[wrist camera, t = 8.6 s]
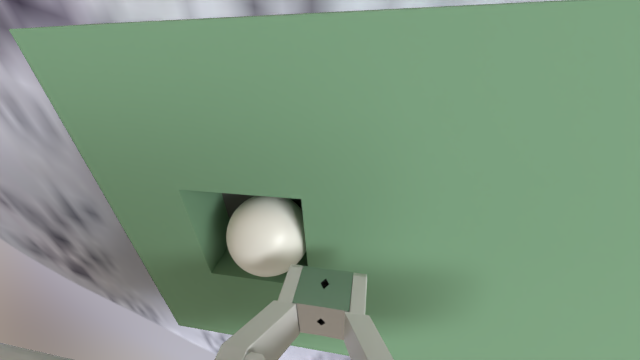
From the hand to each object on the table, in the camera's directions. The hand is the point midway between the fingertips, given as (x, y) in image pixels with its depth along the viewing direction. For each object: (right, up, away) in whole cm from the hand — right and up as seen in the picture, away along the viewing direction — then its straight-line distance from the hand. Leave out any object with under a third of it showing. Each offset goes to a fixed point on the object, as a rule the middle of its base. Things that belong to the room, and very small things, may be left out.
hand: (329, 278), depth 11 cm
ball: (-3, +1, +3) cm, 4 cm away
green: (+6, +2, +3) cm, 7 cm away
